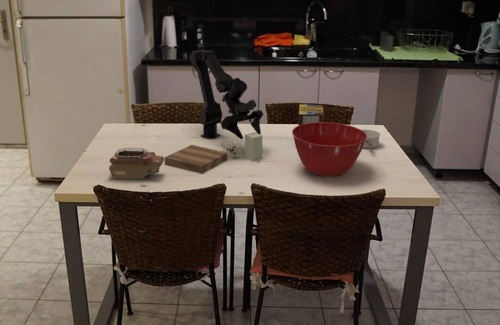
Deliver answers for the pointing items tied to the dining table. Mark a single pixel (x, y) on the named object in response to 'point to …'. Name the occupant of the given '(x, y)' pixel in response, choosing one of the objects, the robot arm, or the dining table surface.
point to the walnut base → (196, 158)
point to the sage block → (253, 146)
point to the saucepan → (371, 139)
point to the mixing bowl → (328, 147)
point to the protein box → (310, 114)
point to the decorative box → (134, 163)
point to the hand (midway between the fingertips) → (251, 136)
